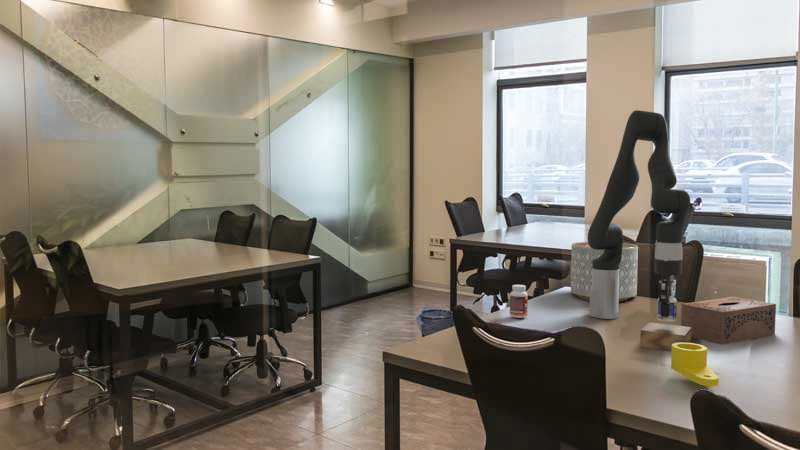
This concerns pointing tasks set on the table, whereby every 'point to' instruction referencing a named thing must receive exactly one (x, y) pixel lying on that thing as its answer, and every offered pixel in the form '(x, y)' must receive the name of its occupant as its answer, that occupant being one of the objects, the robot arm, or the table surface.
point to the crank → (692, 363)
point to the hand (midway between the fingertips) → (666, 314)
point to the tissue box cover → (729, 319)
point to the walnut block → (663, 336)
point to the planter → (583, 270)
